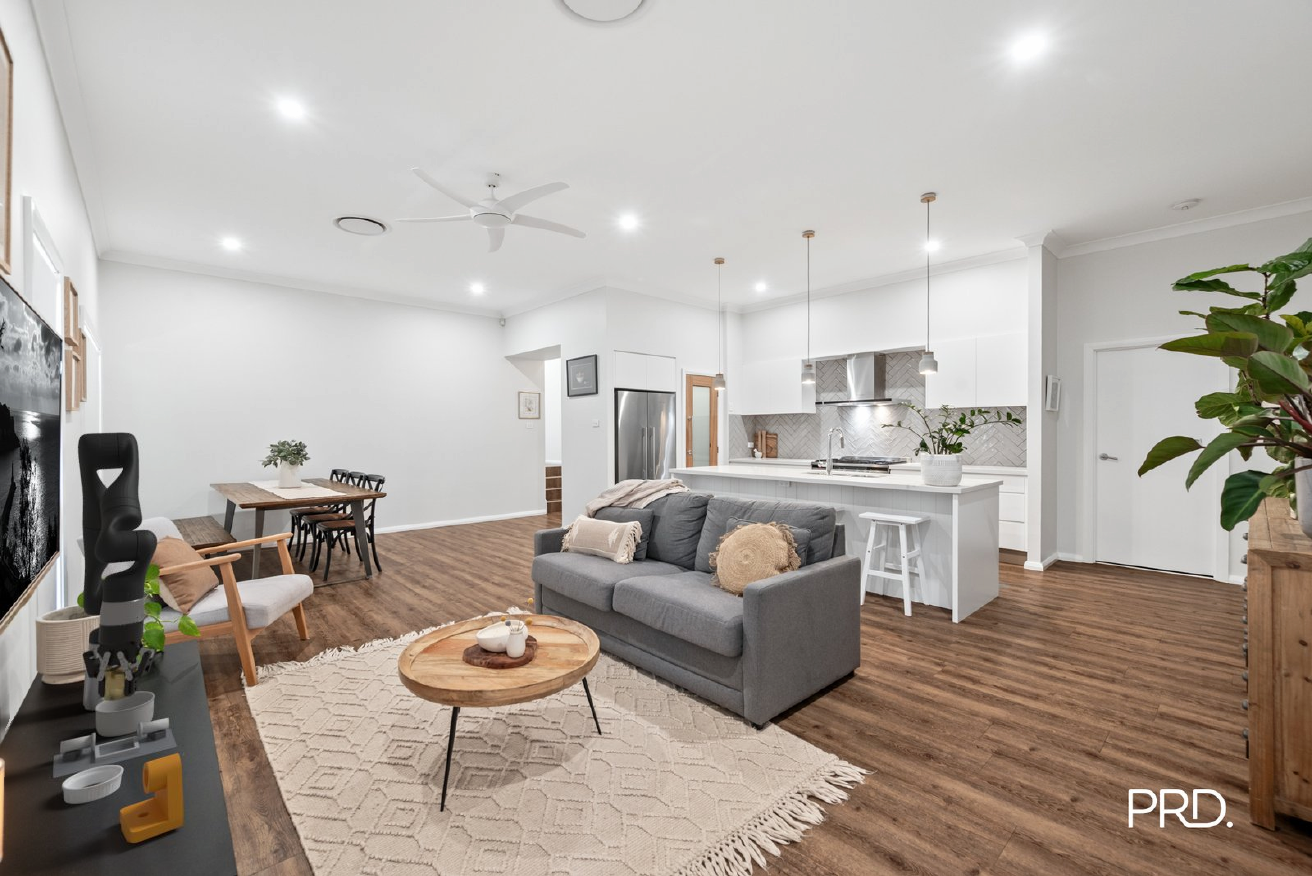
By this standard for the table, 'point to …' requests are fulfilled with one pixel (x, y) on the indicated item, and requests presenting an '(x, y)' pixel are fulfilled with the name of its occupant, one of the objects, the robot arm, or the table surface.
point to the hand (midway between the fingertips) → (117, 695)
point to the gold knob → (115, 684)
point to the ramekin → (104, 774)
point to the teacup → (124, 714)
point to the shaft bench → (112, 748)
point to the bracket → (156, 801)
